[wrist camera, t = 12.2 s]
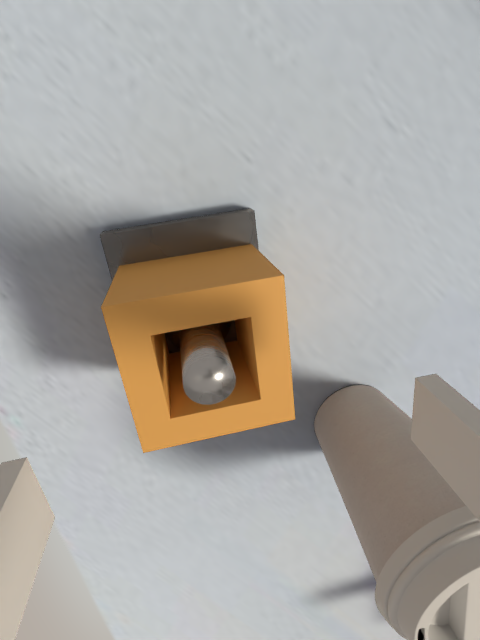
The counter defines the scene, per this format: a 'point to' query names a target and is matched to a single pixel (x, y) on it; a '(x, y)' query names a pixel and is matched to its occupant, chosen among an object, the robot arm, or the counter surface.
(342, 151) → the counter surface
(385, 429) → the coffee cup
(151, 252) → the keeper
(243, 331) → the hollow block
